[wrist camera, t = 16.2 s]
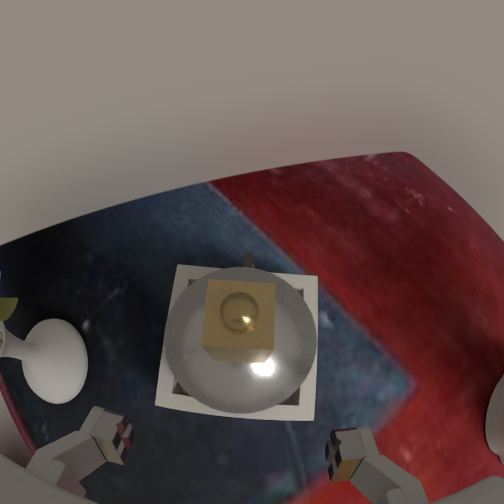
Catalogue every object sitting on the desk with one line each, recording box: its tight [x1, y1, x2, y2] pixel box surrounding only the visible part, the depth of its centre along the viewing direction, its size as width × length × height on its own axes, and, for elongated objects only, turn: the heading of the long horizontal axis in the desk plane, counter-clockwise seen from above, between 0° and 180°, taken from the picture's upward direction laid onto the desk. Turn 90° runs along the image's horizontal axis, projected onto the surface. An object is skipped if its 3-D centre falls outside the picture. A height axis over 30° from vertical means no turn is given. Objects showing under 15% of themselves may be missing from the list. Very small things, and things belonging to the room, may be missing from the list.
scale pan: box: [164, 253, 317, 414], centre depth 28 cm, size 14×16×6 cm
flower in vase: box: [0, 298, 88, 404], centre depth 19 cm, size 13×11×25 cm
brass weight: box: [201, 279, 276, 364], centre depth 22 cm, size 4×4×9 cm
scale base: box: [155, 264, 318, 421], centre depth 30 cm, size 15×15×6 cm
